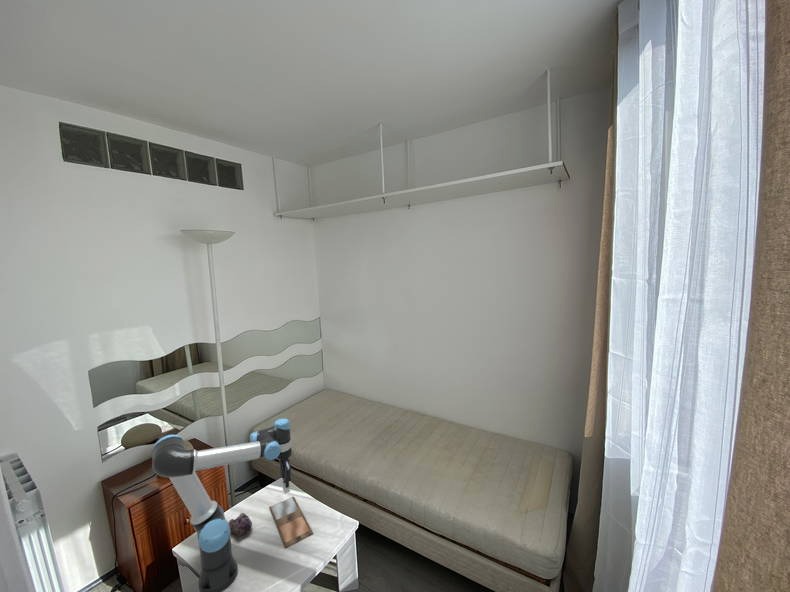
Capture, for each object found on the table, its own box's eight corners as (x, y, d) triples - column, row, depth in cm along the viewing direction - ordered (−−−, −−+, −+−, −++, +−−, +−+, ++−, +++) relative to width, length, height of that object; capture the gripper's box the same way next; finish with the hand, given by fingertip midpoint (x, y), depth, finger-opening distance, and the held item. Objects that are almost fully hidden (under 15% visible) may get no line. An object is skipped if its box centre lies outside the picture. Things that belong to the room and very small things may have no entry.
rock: (230, 535, 156) (246, 543, 160) (243, 516, 161) (258, 524, 165) (223, 525, 165) (238, 533, 169) (236, 507, 169) (250, 515, 174)
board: (285, 548, 154) (285, 547, 154) (269, 508, 182) (268, 507, 182) (313, 533, 162) (313, 532, 162) (293, 497, 189) (293, 496, 189)
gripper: (295, 452, 166) (298, 495, 168) (286, 440, 178) (289, 481, 179) (280, 457, 162) (283, 501, 163) (272, 445, 173) (275, 487, 175)
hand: (286, 491), depth 171 cm, fingers closed
